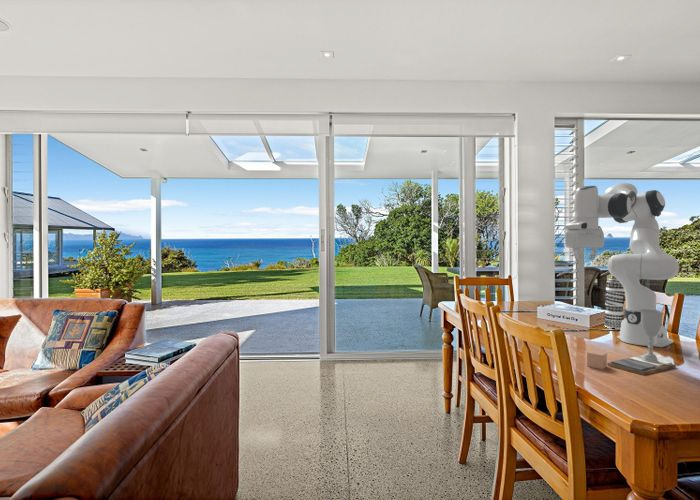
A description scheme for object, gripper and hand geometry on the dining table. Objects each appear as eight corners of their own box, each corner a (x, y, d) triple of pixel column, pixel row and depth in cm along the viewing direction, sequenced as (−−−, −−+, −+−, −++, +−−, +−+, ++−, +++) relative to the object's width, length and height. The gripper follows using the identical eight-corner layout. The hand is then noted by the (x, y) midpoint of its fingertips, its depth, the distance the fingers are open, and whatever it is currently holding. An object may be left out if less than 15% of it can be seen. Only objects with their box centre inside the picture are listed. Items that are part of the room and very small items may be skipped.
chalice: (658, 359, 155) (660, 310, 155) (665, 364, 149) (667, 313, 149) (635, 356, 158) (637, 308, 157) (641, 361, 152) (642, 311, 151)
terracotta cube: (590, 363, 155) (591, 350, 155) (606, 366, 151) (606, 352, 151) (586, 366, 151) (587, 352, 151) (602, 369, 148) (603, 355, 148)
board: (639, 358, 162) (639, 354, 161) (675, 367, 151) (675, 362, 151) (607, 365, 152) (607, 360, 152) (643, 375, 142) (643, 370, 142)
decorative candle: (608, 329, 214) (609, 279, 213) (600, 325, 223) (601, 278, 223) (627, 330, 213) (629, 280, 212) (619, 326, 222) (620, 278, 221)
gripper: (594, 226, 182) (593, 258, 182) (562, 224, 172) (561, 258, 173) (609, 225, 176) (608, 259, 177) (577, 224, 167) (576, 259, 167)
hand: (585, 258), depth 175 cm, fingers open, 8 cm apart
